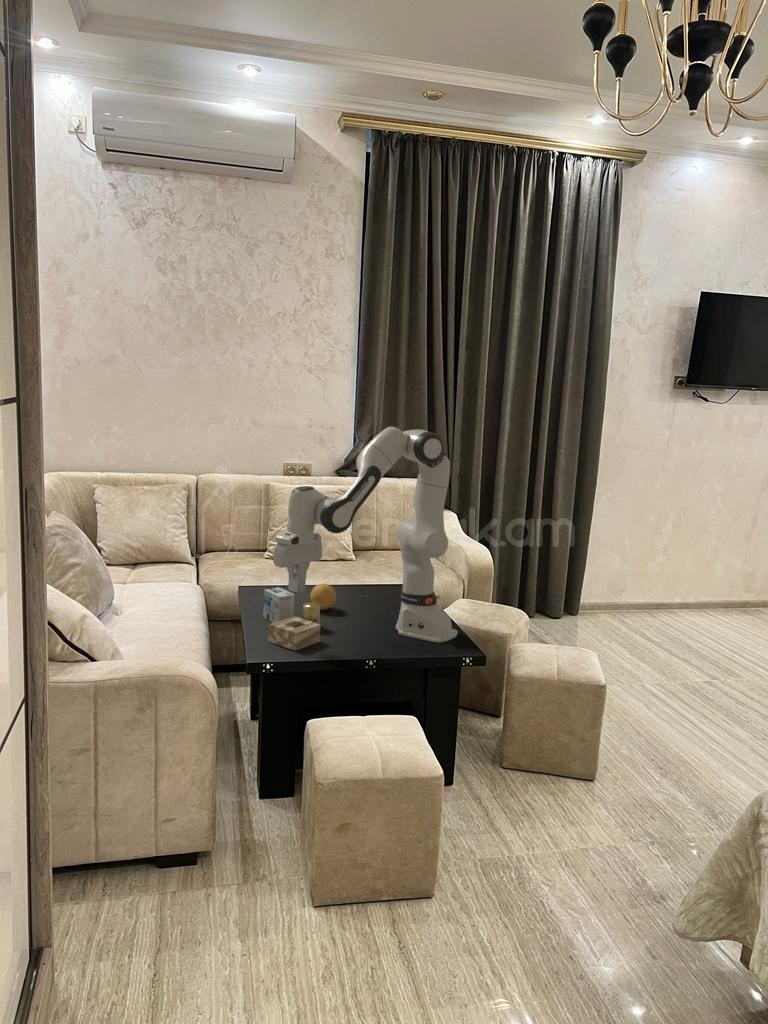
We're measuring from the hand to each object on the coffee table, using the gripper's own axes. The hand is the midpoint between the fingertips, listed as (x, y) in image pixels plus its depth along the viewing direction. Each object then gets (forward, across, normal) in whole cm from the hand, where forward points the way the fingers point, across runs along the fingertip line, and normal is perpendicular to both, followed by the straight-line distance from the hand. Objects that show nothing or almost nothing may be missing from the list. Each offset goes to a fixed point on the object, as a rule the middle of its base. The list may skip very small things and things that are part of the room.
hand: (297, 576), depth 250 cm
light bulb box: (+23, -12, -19) cm, 32 cm away
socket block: (+22, 0, 0) cm, 22 cm away
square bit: (+5, 0, 0) cm, 5 cm away
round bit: (+22, -15, -6) cm, 27 cm away
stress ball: (+22, -33, -16) cm, 43 cm away
